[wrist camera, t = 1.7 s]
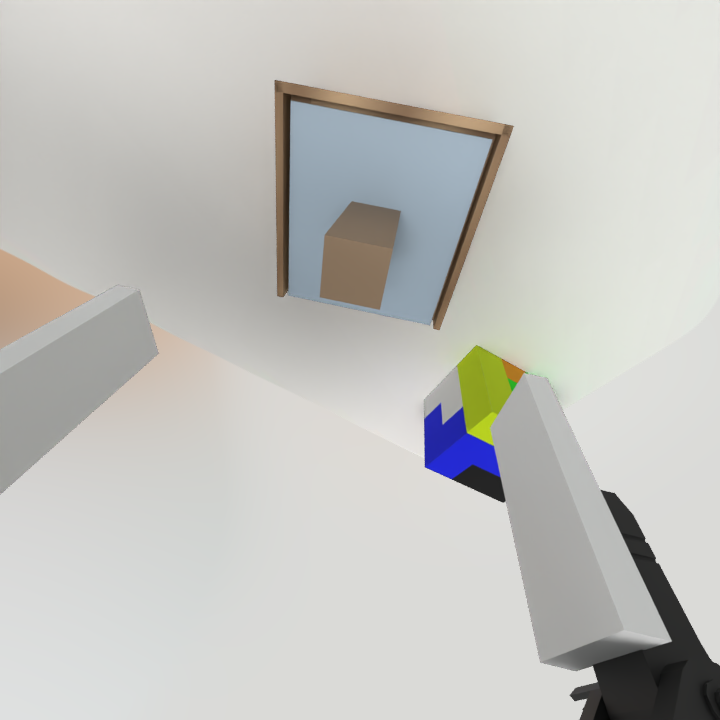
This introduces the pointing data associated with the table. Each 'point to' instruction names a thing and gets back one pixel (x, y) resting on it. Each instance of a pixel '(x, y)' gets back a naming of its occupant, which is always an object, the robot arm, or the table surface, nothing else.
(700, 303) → the table surface
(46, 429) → the robot arm
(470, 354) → the puzzle toy
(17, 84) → the table surface
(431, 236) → the cover plate
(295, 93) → the oak box
